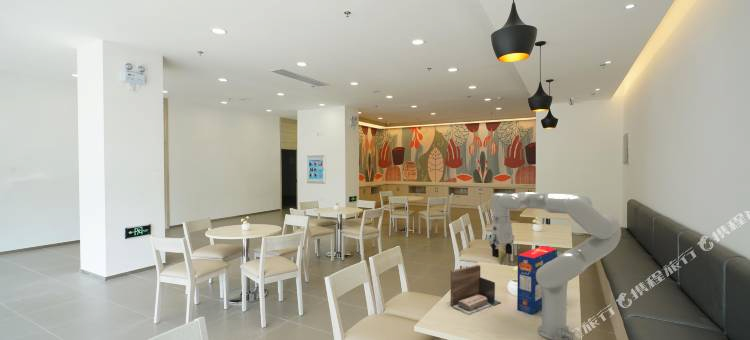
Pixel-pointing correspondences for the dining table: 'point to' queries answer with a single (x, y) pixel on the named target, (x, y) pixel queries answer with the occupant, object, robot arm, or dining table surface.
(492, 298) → the bookend
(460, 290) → the shelf panel
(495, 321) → the dining table surface
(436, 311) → the dining table surface
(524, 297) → the pasta box
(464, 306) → the packaged product
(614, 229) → the robot arm
